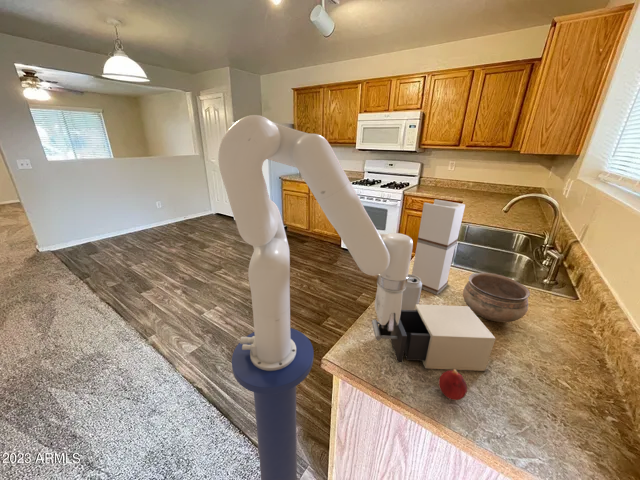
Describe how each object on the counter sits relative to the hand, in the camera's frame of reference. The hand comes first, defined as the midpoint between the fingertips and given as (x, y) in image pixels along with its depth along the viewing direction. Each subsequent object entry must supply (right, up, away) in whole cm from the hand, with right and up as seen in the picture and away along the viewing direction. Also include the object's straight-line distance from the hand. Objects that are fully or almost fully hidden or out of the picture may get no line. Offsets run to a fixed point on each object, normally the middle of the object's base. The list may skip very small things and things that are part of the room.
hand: (383, 336), depth 75 cm
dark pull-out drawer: (+7, -3, +1) cm, 8 cm away
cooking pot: (+41, +1, +18) cm, 45 cm away
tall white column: (+28, +9, +37) cm, 47 cm away
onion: (+12, -10, -13) cm, 20 cm away
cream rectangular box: (+18, -4, +1) cm, 18 cm away
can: (+13, +3, +21) cm, 25 cm away
